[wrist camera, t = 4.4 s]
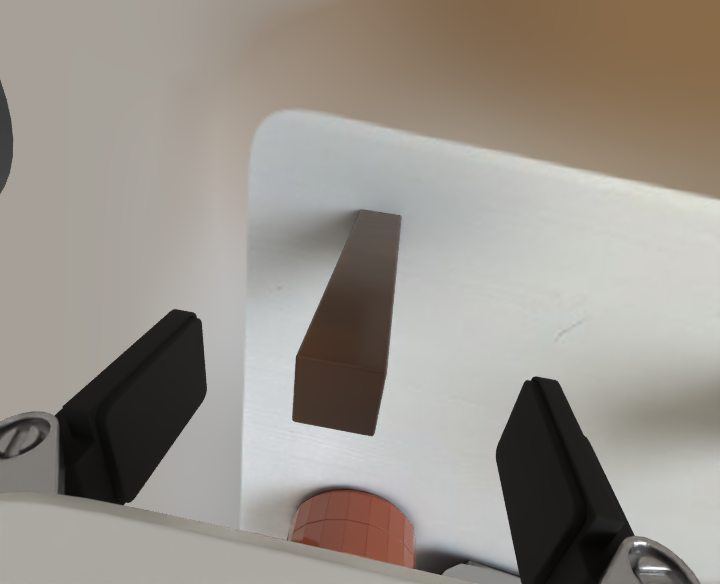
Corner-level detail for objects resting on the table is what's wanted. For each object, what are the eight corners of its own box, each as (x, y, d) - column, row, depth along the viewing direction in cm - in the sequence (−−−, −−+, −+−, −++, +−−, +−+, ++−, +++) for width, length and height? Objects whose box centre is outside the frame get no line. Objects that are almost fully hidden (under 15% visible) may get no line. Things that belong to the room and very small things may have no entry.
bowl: (292, 547, 39) (275, 612, 34) (298, 474, 34) (278, 539, 29) (403, 570, 39) (401, 639, 34) (426, 499, 33) (428, 569, 28)
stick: (355, 247, 24) (291, 422, 11) (360, 208, 22) (295, 356, 10) (395, 254, 23) (373, 438, 11) (401, 215, 22) (387, 372, 10)
